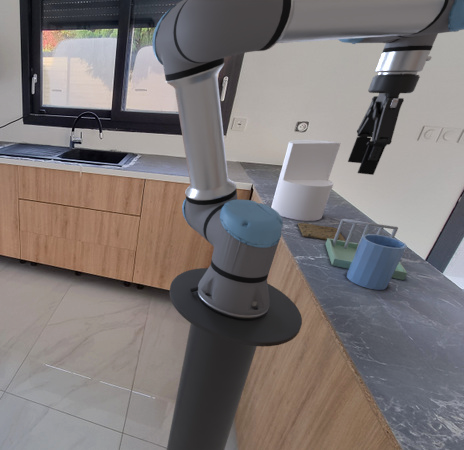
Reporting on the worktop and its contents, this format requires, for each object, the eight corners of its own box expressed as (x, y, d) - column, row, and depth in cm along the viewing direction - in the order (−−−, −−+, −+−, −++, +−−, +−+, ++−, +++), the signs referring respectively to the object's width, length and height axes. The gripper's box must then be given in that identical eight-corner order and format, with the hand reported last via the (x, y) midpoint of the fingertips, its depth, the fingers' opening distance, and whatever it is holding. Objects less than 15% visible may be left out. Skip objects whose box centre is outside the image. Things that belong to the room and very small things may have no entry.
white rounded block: (262, 205, 136) (279, 140, 124) (303, 205, 135) (323, 139, 123) (286, 220, 120) (308, 147, 108) (332, 220, 119) (360, 147, 108)
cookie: (347, 243, 102) (348, 240, 101) (302, 236, 107) (303, 234, 107) (337, 229, 112) (338, 227, 111) (297, 223, 117) (297, 221, 116)
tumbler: (349, 284, 82) (366, 243, 77) (344, 270, 88) (359, 231, 83) (390, 293, 78) (411, 251, 73) (382, 278, 84) (401, 238, 79)
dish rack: (331, 265, 90) (344, 233, 86) (325, 244, 102) (335, 215, 98) (403, 280, 83) (421, 246, 79) (387, 255, 94) (402, 225, 90)
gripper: (444, 71, 58) (394, 182, 66) (402, 74, 77) (368, 159, 86) (389, 72, 61) (348, 177, 70) (363, 75, 80) (333, 156, 89)
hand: (359, 167), depth 78 cm, fingers open, 13 cm apart
